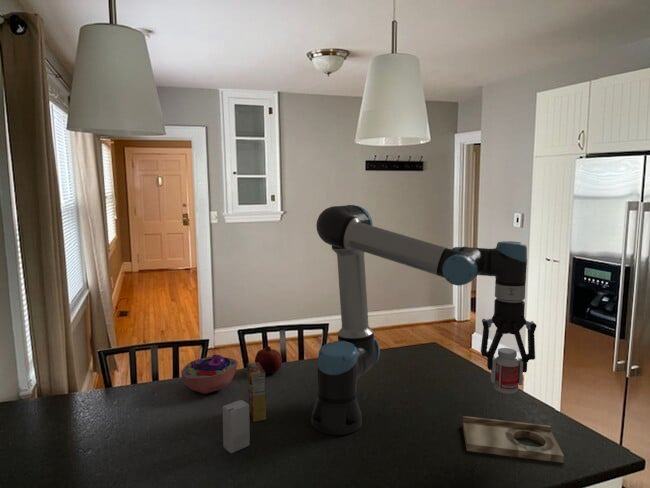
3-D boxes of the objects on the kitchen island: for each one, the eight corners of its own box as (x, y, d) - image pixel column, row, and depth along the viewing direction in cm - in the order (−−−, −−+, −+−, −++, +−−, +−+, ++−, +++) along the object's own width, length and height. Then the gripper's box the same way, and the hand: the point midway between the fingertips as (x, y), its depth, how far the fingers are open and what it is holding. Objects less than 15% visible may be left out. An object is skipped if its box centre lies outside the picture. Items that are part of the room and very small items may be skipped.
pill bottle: (522, 390, 123) (524, 351, 122) (509, 396, 120) (510, 356, 118) (502, 382, 128) (504, 345, 127) (488, 388, 125) (490, 349, 123)
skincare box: (241, 439, 126) (241, 398, 125) (250, 446, 123) (250, 404, 121) (222, 447, 122) (221, 405, 120) (231, 455, 119) (230, 411, 117)
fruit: (249, 371, 172) (249, 346, 171) (270, 365, 179) (270, 340, 178) (265, 380, 164) (265, 354, 163) (287, 373, 171) (287, 347, 170)
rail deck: (466, 450, 122) (467, 439, 121) (462, 426, 135) (463, 415, 134) (563, 462, 117) (564, 451, 117) (549, 436, 130) (550, 425, 129)
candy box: (247, 408, 143) (246, 362, 142) (260, 406, 145) (260, 361, 143) (252, 422, 135) (251, 373, 133) (266, 420, 137) (266, 372, 135)
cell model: (170, 391, 155) (169, 359, 154) (219, 373, 170) (218, 344, 169) (199, 407, 144) (198, 373, 143) (248, 386, 159) (248, 356, 158)
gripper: (473, 301, 119) (470, 384, 122) (552, 304, 115) (547, 391, 118) (470, 294, 127) (468, 373, 129) (544, 297, 122) (540, 379, 125)
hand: (506, 381), depth 124 cm, fingers closed on pill bottle, 6 cm apart
